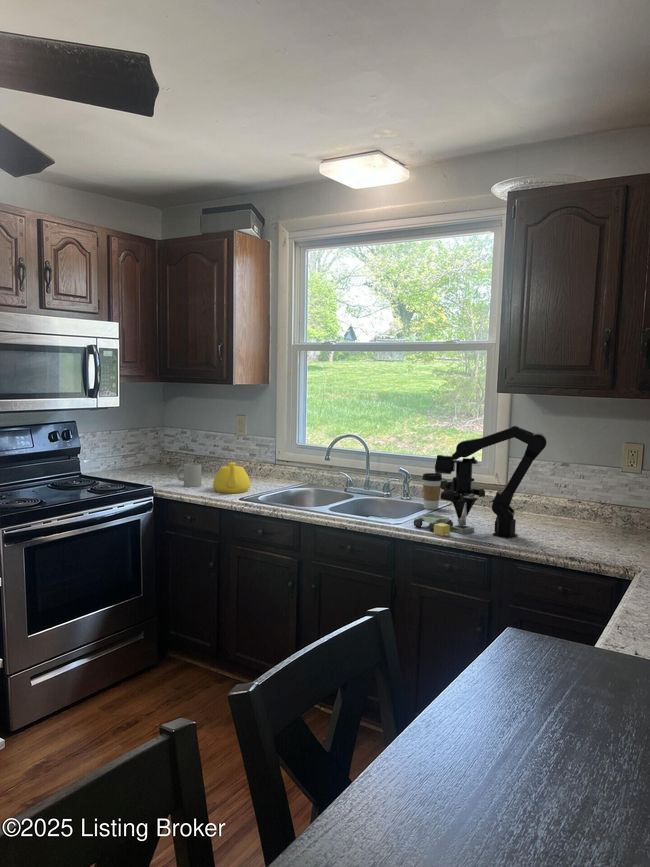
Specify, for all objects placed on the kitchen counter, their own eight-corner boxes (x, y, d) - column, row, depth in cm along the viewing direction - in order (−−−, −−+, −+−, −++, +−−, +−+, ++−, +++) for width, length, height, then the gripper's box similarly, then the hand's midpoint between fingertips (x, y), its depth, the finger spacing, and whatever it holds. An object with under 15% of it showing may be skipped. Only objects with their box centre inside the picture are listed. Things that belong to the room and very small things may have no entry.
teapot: (251, 495, 292) (251, 466, 291) (212, 496, 290) (212, 466, 288) (249, 486, 317) (249, 459, 315) (213, 486, 314) (213, 459, 313)
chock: (449, 534, 227) (450, 525, 227) (442, 536, 225) (442, 526, 224) (441, 532, 230) (441, 522, 230) (433, 533, 228) (434, 524, 227)
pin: (467, 524, 232) (468, 502, 231) (462, 525, 230) (463, 503, 229) (461, 522, 234) (462, 501, 233) (455, 523, 232) (456, 502, 231)
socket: (474, 531, 232) (474, 527, 231) (463, 534, 228) (463, 529, 228) (460, 528, 236) (460, 524, 236) (449, 530, 233) (449, 526, 232)
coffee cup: (440, 510, 268) (442, 475, 267) (420, 509, 270) (421, 474, 268) (441, 506, 276) (442, 472, 275) (421, 505, 278) (422, 471, 277)
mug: (202, 484, 319) (202, 463, 318) (199, 487, 310) (199, 465, 309) (178, 484, 318) (178, 462, 317) (175, 487, 310) (175, 465, 309)
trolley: (453, 528, 235) (453, 517, 235) (435, 532, 229) (435, 520, 229) (431, 523, 244) (431, 512, 243) (413, 526, 238) (413, 515, 237)
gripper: (463, 470, 242) (461, 510, 244) (429, 474, 231) (428, 516, 232) (486, 474, 234) (485, 515, 235) (453, 478, 222) (451, 522, 223)
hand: (462, 517), depth 232 cm, fingers closed on pin, 3 cm apart
